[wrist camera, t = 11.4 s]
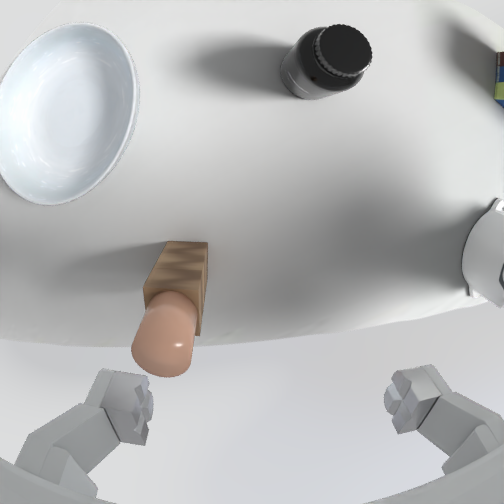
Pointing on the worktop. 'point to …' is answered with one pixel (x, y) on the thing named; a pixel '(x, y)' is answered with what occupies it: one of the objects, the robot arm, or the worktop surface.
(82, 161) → the serving bowl
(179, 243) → the block bottom
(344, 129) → the worktop surface
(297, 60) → the supplement bottle
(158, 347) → the cylinder
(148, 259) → the worktop surface
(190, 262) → the block middle
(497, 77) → the protein box
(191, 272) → the block top
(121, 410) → the robot arm
